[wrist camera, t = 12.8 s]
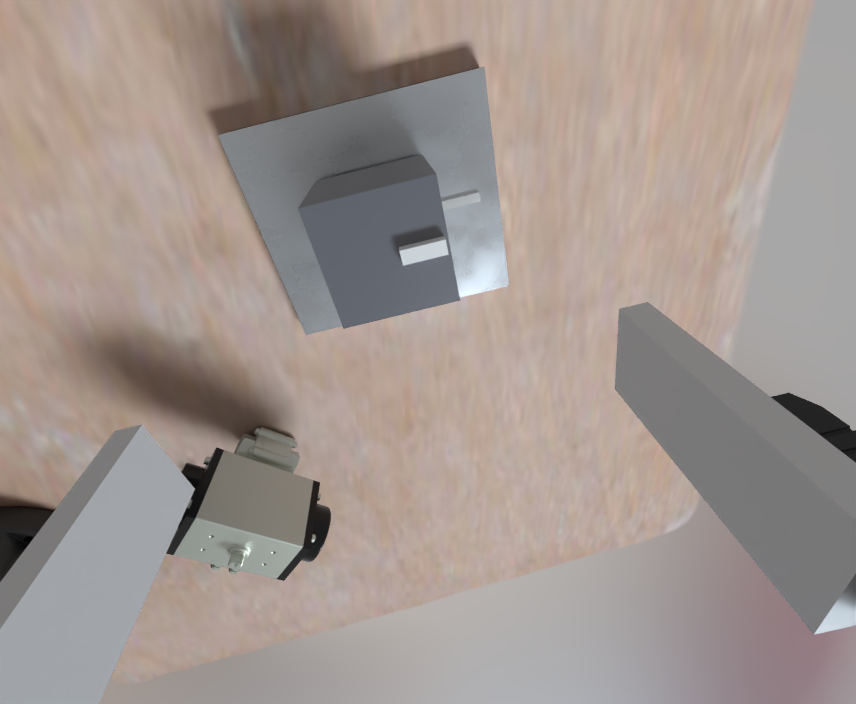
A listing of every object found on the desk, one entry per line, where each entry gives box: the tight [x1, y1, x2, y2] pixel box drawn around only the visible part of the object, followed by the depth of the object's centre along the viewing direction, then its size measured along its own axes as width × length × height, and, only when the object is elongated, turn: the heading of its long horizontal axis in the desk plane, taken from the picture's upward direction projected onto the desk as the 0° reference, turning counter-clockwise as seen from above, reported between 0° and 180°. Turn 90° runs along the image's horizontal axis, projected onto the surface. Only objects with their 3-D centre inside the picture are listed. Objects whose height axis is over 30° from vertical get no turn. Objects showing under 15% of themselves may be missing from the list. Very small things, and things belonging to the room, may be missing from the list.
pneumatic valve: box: [166, 427, 331, 581], centre depth 34 cm, size 6×12×12 cm, turn 55°
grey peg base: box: [218, 67, 509, 335], centre depth 26 cm, size 16×14×7 cm
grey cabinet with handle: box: [298, 154, 460, 329], centre depth 24 cm, size 7×7×8 cm
